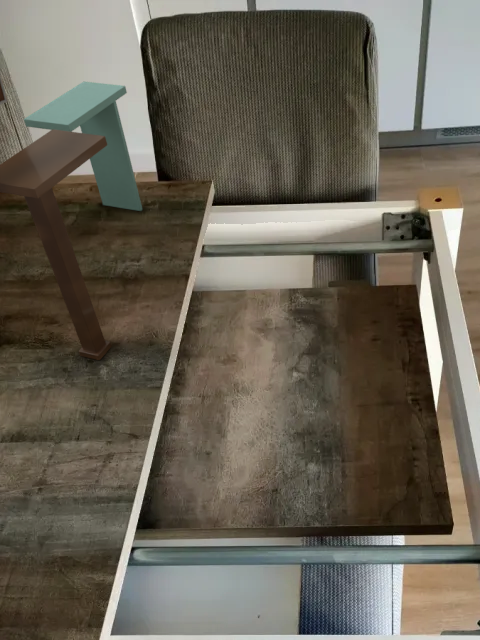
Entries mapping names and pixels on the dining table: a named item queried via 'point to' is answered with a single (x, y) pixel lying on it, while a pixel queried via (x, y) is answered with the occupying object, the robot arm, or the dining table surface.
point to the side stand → (58, 219)
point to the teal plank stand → (97, 119)
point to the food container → (2, 92)
